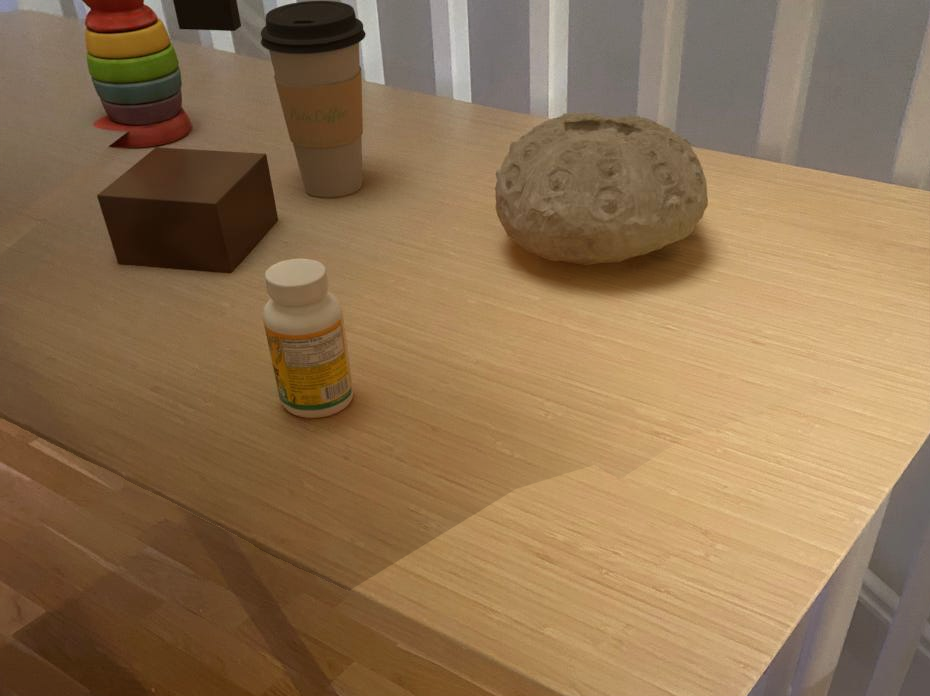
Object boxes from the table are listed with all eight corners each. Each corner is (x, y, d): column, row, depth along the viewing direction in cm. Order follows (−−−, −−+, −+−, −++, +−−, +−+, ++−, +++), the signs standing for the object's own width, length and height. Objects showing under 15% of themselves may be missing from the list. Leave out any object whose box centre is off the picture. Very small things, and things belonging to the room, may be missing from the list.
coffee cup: (302, 212, 94) (272, 34, 83) (275, 178, 100) (244, 7, 89) (394, 193, 96) (377, 17, 85) (362, 160, 102) (343, -8, 91)
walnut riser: (117, 263, 88) (96, 195, 83) (172, 212, 95) (155, 146, 91) (231, 273, 85) (215, 203, 81) (278, 219, 93) (266, 153, 88)
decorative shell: (593, 187, 95) (598, 73, 88) (743, 243, 86) (762, 120, 79) (456, 247, 87) (449, 127, 80) (604, 316, 78) (612, 187, 71)
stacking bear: (144, 111, 115) (96, -74, 102) (214, 122, 112) (173, -68, 99) (81, 143, 109) (21, -50, 96) (153, 155, 105) (101, -42, 92)
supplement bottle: (349, 420, 69) (329, 290, 62) (274, 420, 69) (246, 291, 62) (358, 379, 73) (341, 252, 66) (287, 379, 73) (262, 253, 66)
